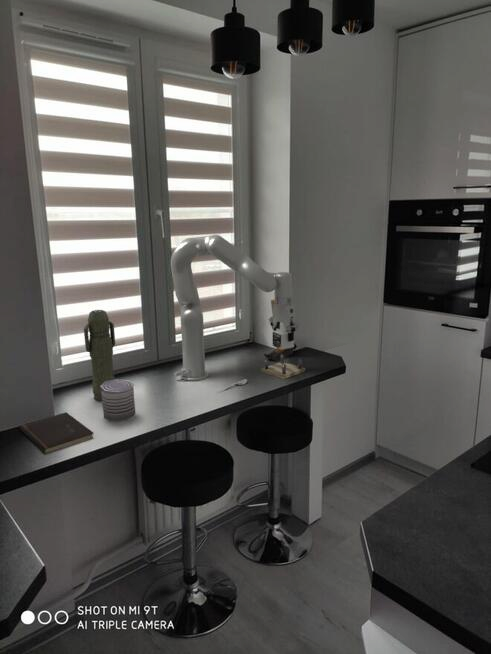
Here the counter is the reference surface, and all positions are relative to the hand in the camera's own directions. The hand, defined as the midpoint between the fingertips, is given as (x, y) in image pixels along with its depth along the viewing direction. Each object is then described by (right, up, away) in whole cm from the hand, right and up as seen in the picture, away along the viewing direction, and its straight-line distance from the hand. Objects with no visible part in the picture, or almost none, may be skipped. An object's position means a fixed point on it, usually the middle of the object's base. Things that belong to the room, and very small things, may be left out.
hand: (283, 339), depth 218 cm
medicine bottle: (0, -4, +1) cm, 4 cm away
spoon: (-24, -21, -16) cm, 35 cm away
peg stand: (0, -15, +4) cm, 15 cm away
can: (-62, -27, -41) cm, 79 cm away
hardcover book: (-80, -31, -54) cm, 102 cm away
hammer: (+1, -10, +26) cm, 27 cm away
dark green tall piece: (-73, -23, -23) cm, 80 cm away
